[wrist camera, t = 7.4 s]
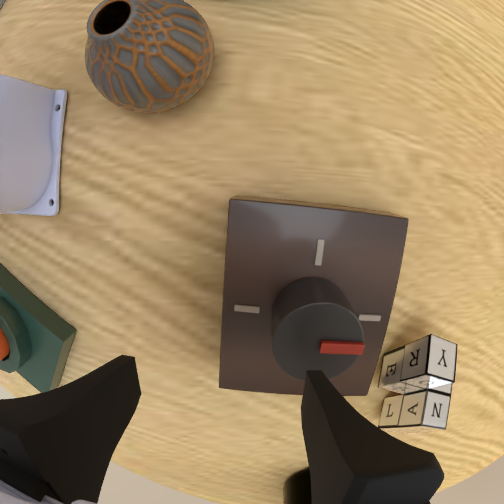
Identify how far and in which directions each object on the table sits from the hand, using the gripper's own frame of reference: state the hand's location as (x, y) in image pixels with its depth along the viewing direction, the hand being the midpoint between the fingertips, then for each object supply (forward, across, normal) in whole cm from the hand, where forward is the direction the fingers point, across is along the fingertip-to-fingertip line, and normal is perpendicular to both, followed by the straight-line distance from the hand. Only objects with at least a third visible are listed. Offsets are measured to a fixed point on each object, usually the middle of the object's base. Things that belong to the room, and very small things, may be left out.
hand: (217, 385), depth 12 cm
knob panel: (+9, -4, -1) cm, 10 cm away
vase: (+9, +5, -15) cm, 18 cm away
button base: (+9, +20, +4) cm, 23 cm away
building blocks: (+9, -13, +6) cm, 17 cm away
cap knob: (+6, -4, -1) cm, 7 cm away
